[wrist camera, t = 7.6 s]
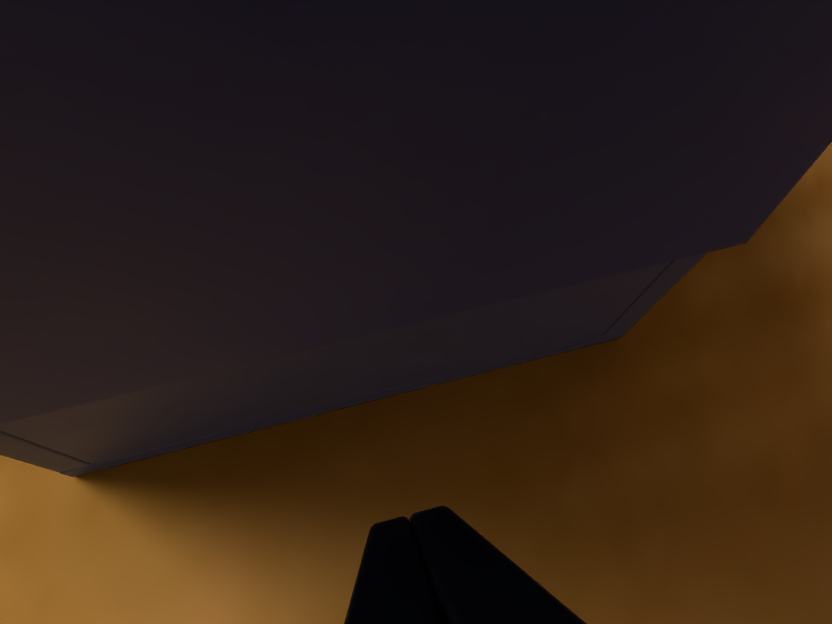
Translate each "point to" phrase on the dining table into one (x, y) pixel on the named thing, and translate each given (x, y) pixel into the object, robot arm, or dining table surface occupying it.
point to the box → (337, 374)
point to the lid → (366, 166)
